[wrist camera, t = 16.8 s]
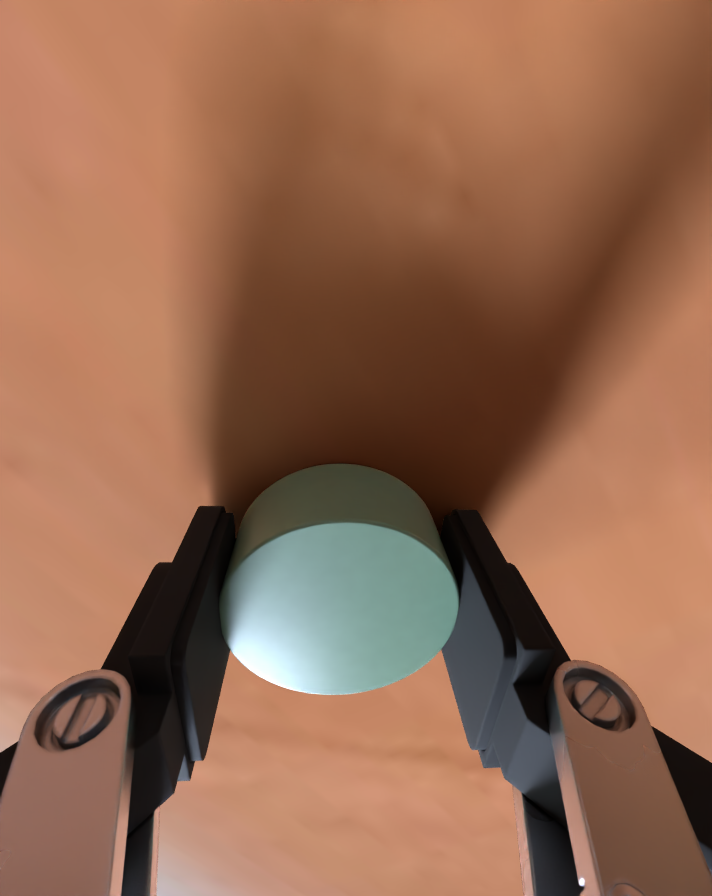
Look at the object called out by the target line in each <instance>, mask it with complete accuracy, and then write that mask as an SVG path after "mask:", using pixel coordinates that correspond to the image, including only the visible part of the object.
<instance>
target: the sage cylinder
mask: <svg viewBox="0 0 712 896" xmlns="http://www.w3.org/2000/svg"><path fill="white" fill-rule="evenodd" d="M459 602H460V595H459V588H458V584H457V580H456V577H455V575H454V572H453V570H452V567H451V565H450V562H449V560H448V557H447V554H446V552H445V549H444V547H443V544H442V542H441V539H440V536H439V534H438V531H437V529H436V526H435V524H434V521H433V519H432V516H431V514H430V511H429V510H428V508H427V506H426V505H425V503H424V501H423V500H422V499H421V498H420V497H419V496H418V494H417V493H416V492H415V491H413V490H412V489H411V488H410V487H409V486H408V485H407V484H405V483H403V482H402V481H400V480H399V479H397V478H396V477H394V476H391V475H389V474H387V473H385V472H383V471H380V470H377V469H374V468H371V467H366V466H361V465H354V464H326V465H319V466H313V467H310V468H306V469H303V470H299V471H297V472H295V473H292V474H290V475H287V476H286V477H284V478H282V479H280V480H278V481H277V482H275V483H274V484H272V485H271V486H270V487H268V488H267V489H266V490H264V491H263V492H262V493H261V494H260V495H259V496H258V497H257V498H256V499H255V501H254V502H253V503H252V504H251V506H250V507H249V508H248V510H247V512H246V514H245V516H244V517H243V519H242V522H241V525H240V528H239V531H238V534H237V538H236V541H235V544H234V548H233V551H232V555H231V558H230V561H229V565H228V568H227V571H226V575H225V578H224V582H223V585H222V588H221V592H220V596H219V612H220V621H221V629H222V634H223V637H224V639H225V642H226V643H227V645H228V647H229V648H230V650H231V652H232V653H233V654H234V655H235V656H236V657H237V659H238V660H239V661H240V662H241V663H242V664H243V665H245V666H246V667H247V668H248V669H249V670H251V671H252V672H254V673H255V674H257V675H258V676H260V677H262V678H264V679H265V680H267V681H269V682H271V683H274V684H277V685H279V686H282V687H285V688H288V689H292V690H295V691H300V692H305V693H312V694H322V695H340V694H352V693H359V692H365V691H369V690H373V689H377V688H380V687H383V686H386V685H389V684H392V683H394V682H397V681H399V680H401V679H403V678H405V677H407V676H409V675H411V674H412V673H414V672H416V671H417V670H419V669H420V668H421V667H423V666H424V665H426V664H427V663H428V662H429V661H430V660H431V659H432V658H434V657H435V656H436V654H437V653H438V652H439V651H440V650H441V649H442V648H443V646H444V645H445V644H446V642H447V641H448V639H449V638H450V636H451V634H452V632H453V630H454V626H455V622H456V618H457V613H458V609H459Z"/></svg>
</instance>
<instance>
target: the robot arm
mask: <svg viewBox="0 0 712 896" xmlns="http://www.w3.org/2000/svg"><path fill="white" fill-rule="evenodd" d="M440 539H441V542H442V544H443V547H444V549H445V552H446V554H447V557H448V560H449V562H450V565H451V567H452V570H453V572H454V575H455V577H456V580H457V584H458V588H459V595H460V602H459V609H458V613H457V618H456V622H455V626H454V630H453V632H452V634H451V636H450V638H449V639H448V641H447V642H446V644H445V645H444V646H443V648H442V653H443V656H444V660H445V663H446V667H447V670H448V674H449V677H450V681H451V685H452V688H453V692H454V695H455V699H456V702H457V706H458V709H459V713H460V716H461V720H462V723H463V727H464V730H465V734H466V737H467V741H468V743H469V746H470V748H471V749H472V750H478V751H479V754H480V758H481V761H482V764H483V768H496V767H501V770H502V773H503V776H504V778H505V779H506V780H507V781H508V782H510V783H511V784H512V785H513V797H514V806H515V816H516V826H517V836H518V846H519V855H520V865H521V875H522V885H523V894H524V896H712V763H711V762H709V761H708V760H706V759H704V758H703V757H701V756H699V755H698V754H696V753H695V752H693V751H691V750H690V749H688V748H686V747H685V746H683V745H682V744H680V743H678V742H677V741H675V740H674V739H672V738H670V737H669V736H667V735H665V734H664V733H662V732H661V731H659V730H657V729H656V728H654V727H652V726H651V725H650V722H649V720H648V717H647V715H646V712H645V710H644V707H643V706H642V704H641V702H640V700H639V699H638V697H637V695H636V694H635V693H634V692H633V690H632V689H631V688H630V687H629V686H628V685H627V684H626V683H625V682H624V681H623V680H622V679H620V678H619V677H618V676H617V675H615V674H614V673H613V672H611V671H609V670H607V669H605V668H604V667H602V666H600V665H597V664H594V663H591V662H588V661H580V660H573V661H571V660H570V658H569V656H568V655H567V653H566V651H565V649H564V648H563V646H562V644H561V643H560V641H559V639H558V638H557V636H556V634H555V632H554V631H553V629H552V627H551V626H550V624H549V622H548V620H547V619H546V617H545V615H544V614H543V612H542V610H541V609H540V607H539V605H538V603H537V602H536V600H535V598H534V597H533V595H532V593H531V591H530V590H529V588H528V586H527V585H526V583H525V581H524V580H523V578H522V576H521V574H520V573H519V571H518V570H517V568H516V567H515V566H514V565H513V564H511V563H507V562H506V560H505V558H504V556H503V555H502V553H501V551H500V549H499V548H498V546H497V544H496V542H495V540H494V539H493V537H492V535H491V533H490V532H489V530H488V528H487V526H486V525H485V523H484V521H483V519H482V517H481V516H480V514H479V512H478V511H477V510H458V509H454V510H453V511H452V512H451V515H446V516H445V517H444V520H443V525H442V530H441V535H440ZM235 541H236V537H235V524H234V515H233V513H226V510H225V507H224V506H200V507H198V509H197V511H196V513H195V515H194V517H193V519H192V522H191V524H190V526H189V528H188V530H187V532H186V534H185V536H184V539H183V541H182V543H181V545H180V547H179V549H178V551H177V553H176V555H175V558H174V560H173V562H172V563H166V562H159V563H158V564H156V566H155V567H154V568H153V570H152V572H151V574H150V576H149V578H148V580H147V581H146V583H145V585H144V587H143V589H142V591H141V593H140V595H139V597H138V599H137V601H136V603H135V604H134V606H133V608H132V610H131V612H130V614H129V616H128V618H127V620H126V622H125V624H124V626H123V627H122V629H121V631H120V633H119V635H118V637H117V639H116V641H115V643H114V645H113V647H112V649H111V650H110V652H109V654H108V656H107V658H106V660H105V662H104V664H103V666H102V668H101V669H100V670H92V671H87V672H84V673H81V674H78V675H75V676H72V677H71V678H69V679H67V680H65V681H64V682H62V683H60V684H58V685H57V686H55V687H54V688H53V689H52V690H51V691H49V692H48V693H47V694H46V695H45V696H43V697H42V698H41V700H40V701H39V702H38V703H37V704H36V706H35V707H34V708H33V709H32V711H31V712H30V714H29V716H28V718H27V720H26V722H25V724H24V726H23V729H22V732H21V735H20V738H19V741H18V742H16V743H15V744H13V745H12V746H10V747H9V748H7V749H5V750H4V751H2V752H1V753H0V896H156V891H157V867H158V842H159V818H160V805H161V804H162V803H164V802H165V801H166V800H167V799H168V798H169V797H170V796H171V795H172V794H174V791H175V788H176V784H177V781H190V779H191V775H192V771H193V767H194V763H195V761H199V760H204V758H205V756H206V752H207V748H208V744H209V740H210V735H211V731H212V727H213V722H214V718H215V713H216V709H217V705H218V700H219V696H220V692H221V687H222V683H223V679H224V674H225V670H226V666H227V661H228V657H229V653H230V648H229V647H228V645H227V643H226V642H225V639H224V637H223V634H222V629H221V621H220V612H219V596H220V592H221V588H222V585H223V582H224V578H225V575H226V571H227V568H228V565H229V561H230V558H231V555H232V551H233V548H234V544H235Z"/></svg>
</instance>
